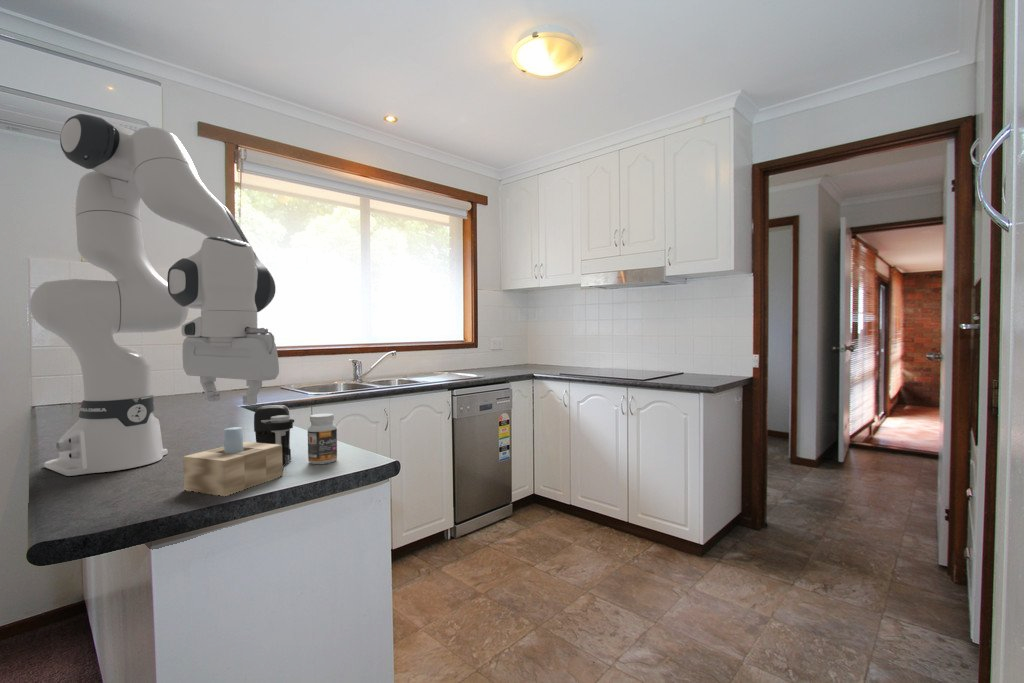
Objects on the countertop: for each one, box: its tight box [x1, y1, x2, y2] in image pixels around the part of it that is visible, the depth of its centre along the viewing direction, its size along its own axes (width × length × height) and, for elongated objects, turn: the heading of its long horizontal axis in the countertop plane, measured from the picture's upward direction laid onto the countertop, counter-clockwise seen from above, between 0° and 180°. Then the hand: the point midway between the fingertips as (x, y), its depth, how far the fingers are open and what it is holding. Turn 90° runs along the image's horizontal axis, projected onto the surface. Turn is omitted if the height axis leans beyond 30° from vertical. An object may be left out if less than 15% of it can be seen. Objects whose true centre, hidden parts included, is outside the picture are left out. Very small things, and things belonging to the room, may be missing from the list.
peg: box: [223, 426, 244, 454], centre depth 88 cm, size 3×3×10 cm
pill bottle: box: [307, 412, 338, 465], centre depth 102 cm, size 6×6×10 cm
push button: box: [266, 415, 295, 466], centre depth 100 cm, size 7×5×10 cm
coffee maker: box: [253, 404, 291, 449], centre depth 105 cm, size 7×4×11 cm, turn 107°
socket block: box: [182, 440, 284, 497], centre depth 88 cm, size 10×12×6 cm
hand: (230, 402), depth 88 cm, fingers open, 8 cm apart
